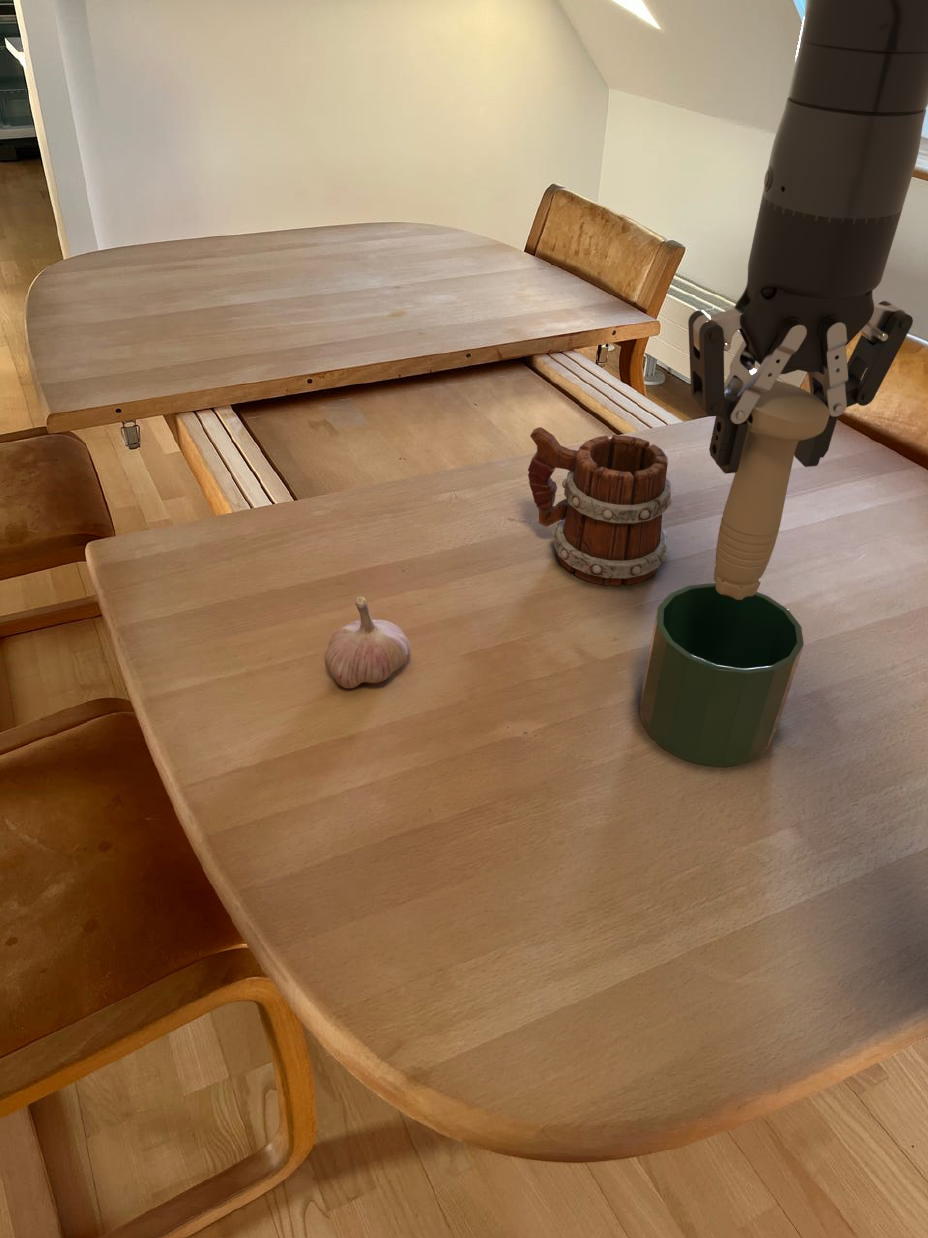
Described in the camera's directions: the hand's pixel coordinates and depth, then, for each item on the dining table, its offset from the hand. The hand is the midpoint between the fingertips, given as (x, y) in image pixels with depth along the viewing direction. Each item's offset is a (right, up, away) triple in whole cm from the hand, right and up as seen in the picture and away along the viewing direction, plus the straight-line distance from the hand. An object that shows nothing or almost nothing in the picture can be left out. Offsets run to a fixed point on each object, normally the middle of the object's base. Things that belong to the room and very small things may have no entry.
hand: (765, 463), depth 62 cm
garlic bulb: (-29, -15, +20) cm, 38 cm away
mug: (-7, -4, +35) cm, 36 cm away
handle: (0, -8, +7) cm, 11 cm away
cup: (0, -19, +16) cm, 25 cm away
